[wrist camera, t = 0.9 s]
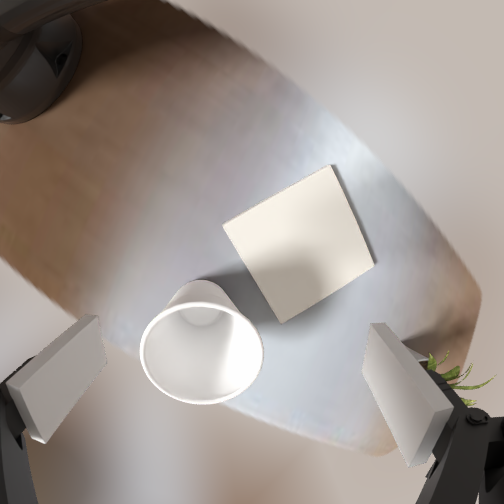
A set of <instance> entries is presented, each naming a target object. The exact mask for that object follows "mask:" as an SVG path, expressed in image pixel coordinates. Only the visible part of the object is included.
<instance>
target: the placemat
mask: <svg viewBox="0 0 504 504" xmlns="http://www.w3.org/2000/svg"><path fill="white" fill-rule="evenodd" d="M222 226H223V228H224V230H225V231H226V233H227V235H228V236H229V238H230V240H231V241H232V243H233V245H234V246H235V248H236V250H237V252H238V253H239V255H240V257H241V258H242V260H243V262H244V263H245V265H246V267H247V268H248V270H249V272H250V273H251V275H252V277H253V278H254V280H255V282H256V283H257V285H258V287H259V288H260V290H261V292H262V293H263V295H264V297H265V298H266V300H267V302H268V303H269V305H270V307H271V308H272V310H273V312H274V313H275V315H276V317H277V318H278V320H279V322H280V323H281V324H282V323H284V322H286V321H288V320H289V319H291V318H293V317H294V316H296V315H298V314H299V313H301V312H303V311H304V310H306V309H308V308H309V307H311V306H313V305H314V304H316V303H317V302H319V301H321V300H322V299H324V298H326V297H327V296H329V295H330V294H332V293H334V292H335V291H337V290H338V289H340V288H341V287H343V286H345V285H346V284H348V283H349V282H351V281H352V280H354V279H355V278H357V277H358V276H360V275H361V274H363V273H364V272H366V271H367V270H369V269H370V268H372V267H373V266H374V263H373V260H372V258H371V255H370V253H369V250H368V248H367V245H366V243H365V240H364V238H363V236H362V233H361V231H360V228H359V226H358V224H357V221H356V219H355V217H354V215H353V212H352V210H351V208H350V206H349V203H348V201H347V199H346V197H345V195H344V192H343V190H342V188H341V186H340V184H339V182H338V180H337V177H336V175H335V173H334V171H333V169H332V167H331V165H326V166H324V167H322V168H321V169H319V170H317V171H315V172H313V173H311V174H310V175H308V176H306V177H304V178H302V179H300V180H299V181H297V182H295V183H293V184H291V185H290V186H288V187H286V188H284V189H282V190H281V191H279V192H277V193H275V194H273V195H272V196H270V197H268V198H266V199H265V200H263V201H261V202H259V203H258V204H256V205H254V206H252V207H251V208H249V209H247V210H245V211H244V212H242V213H240V214H238V215H237V216H235V217H233V218H232V219H230V220H228V221H226V222H225V223H223V224H222Z"/></svg>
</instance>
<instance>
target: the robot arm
mask: <svg viewBox="0 0 504 504" xmlns="http://www.w3.org/2000/svg"><path fill="white" fill-rule="evenodd" d="M104 1H107V0H0V123H5V124H19V123H23V122H26V121H28V120H30V119H32V118H34V117H36V116H37V115H39V114H40V113H42V112H43V111H44V110H46V109H47V108H48V107H49V106H50V105H51V104H52V103H53V102H54V101H55V100H56V99H57V98H58V97H59V95H60V94H61V93H62V92H63V90H64V89H65V88H66V86H67V85H68V83H69V81H70V80H71V78H72V76H73V74H74V72H75V70H76V67H77V65H78V62H79V59H80V55H81V50H82V34H81V30H80V28H79V26H78V24H77V22H76V21H75V20H74V19H73V18H72V16H71V15H70V13H73V12H75V11H78V10H81V9H83V8H86V7H89V6H92V5H95V4H98V3H101V2H104ZM106 364H107V358H106V354H105V350H104V345H103V340H102V335H101V329H100V324H99V318H98V316H96V315H87V314H86V315H84V316H83V317H82V318H81V319H79V320H78V321H77V322H76V323H75V324H74V325H72V326H71V327H70V328H68V329H67V330H66V331H65V332H64V333H63V334H61V335H60V336H59V337H58V338H56V339H55V340H54V341H53V342H52V343H50V345H48V346H47V347H46V348H45V349H43V350H42V351H41V352H40V353H39V354H38V355H36V356H34V357H32V358H29V359H28V360H27V361H25V362H24V363H23V364H22V366H20V367H18V368H17V369H16V371H14V372H13V373H12V374H11V375H9V376H8V377H7V378H6V379H5V380H4V381H3V382H2V383H1V384H0V504H38V501H37V497H36V494H35V489H34V485H33V480H32V476H31V471H30V467H29V461H28V455H27V448H26V442H25V438H24V435H23V433H22V432H23V431H24V429H25V428H27V430H28V432H29V434H30V436H31V438H32V439H35V440H37V441H39V442H42V443H44V444H46V443H47V441H48V440H49V439H50V437H51V436H52V434H53V433H54V432H55V430H56V429H57V428H58V426H59V425H60V424H61V422H62V421H63V420H64V418H65V417H66V416H67V414H68V413H69V412H70V410H71V409H72V407H73V406H74V405H75V404H76V402H77V401H78V400H79V399H80V397H81V396H82V395H83V393H84V392H85V391H86V389H87V388H88V387H89V386H90V384H91V383H92V382H93V380H94V379H95V378H96V377H97V375H98V374H99V373H100V372H101V370H102V369H103V368H104V367H105V365H106ZM361 372H362V374H363V376H364V378H365V380H366V382H367V384H368V386H369V388H370V390H371V392H372V394H373V396H374V398H375V400H376V402H377V404H378V406H379V408H380V410H381V412H382V414H383V416H384V418H385V420H386V422H387V424H388V426H389V428H390V430H391V433H392V435H393V437H394V439H395V441H396V443H397V445H398V447H399V449H400V451H401V454H402V456H403V458H404V460H405V462H406V464H407V466H408V467H413V466H417V465H420V464H424V463H426V462H427V460H428V458H429V457H430V455H431V453H433V454H434V456H435V458H436V460H435V462H434V464H433V465H432V467H431V468H430V470H429V472H428V474H427V475H426V477H427V480H426V482H425V484H424V487H423V489H422V491H421V493H420V495H419V498H418V500H417V502H416V504H475V503H476V500H477V496H478V492H479V504H504V417H493V418H490V416H489V415H488V413H486V412H485V411H483V410H481V409H479V408H472V407H471V408H468V407H467V406H466V405H465V403H464V402H463V401H462V400H461V398H460V397H459V396H458V395H457V394H456V392H455V391H454V390H453V389H451V387H450V385H449V384H447V382H446V381H445V379H444V378H443V377H442V376H441V375H440V374H438V373H437V372H435V371H433V370H432V369H429V370H424V369H423V367H422V366H421V365H420V364H419V362H418V361H417V360H416V359H415V358H414V356H413V355H412V354H411V353H410V352H409V350H408V349H407V348H406V347H405V346H404V344H403V343H402V342H401V341H400V340H399V339H398V337H397V336H396V335H395V334H394V333H393V332H392V330H391V329H390V328H389V327H388V326H387V325H386V323H370V329H369V335H368V341H367V346H366V352H365V357H364V362H363V367H362V371H361Z"/></svg>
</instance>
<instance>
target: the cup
mask: <svg viewBox="0 0 504 504" xmlns="http://www.w3.org/2000/svg"><path fill="white" fill-rule="evenodd" d="M140 358H141V363H142V366H143V368H144V371H145V373H146V375H147V376H148V377H149V379H150V380H151V382H152V383H153V384H154V385H155V386H156V387H157V388H158V389H160V390H161V391H162V392H164V393H165V394H167V395H168V396H170V397H172V398H175V399H177V400H179V401H183V402H187V403H191V404H215V403H219V402H224V401H226V400H229V399H232V398H234V397H236V396H237V395H239V394H241V393H242V392H244V391H245V390H246V389H247V388H248V387H249V386H251V384H252V383H253V382H254V381H255V379H256V378H257V376H258V374H259V372H260V370H261V368H262V364H263V359H264V347H263V343H262V339H261V337H260V335H259V333H258V331H257V329H256V327H255V326H254V325H253V324H252V323H251V321H250V320H249V319H248V318H246V317H245V316H244V315H243V314H241V313H240V311H239V310H238V309H237V308H236V306H235V305H234V304H233V302H232V301H231V300H230V298H229V297H228V296H227V294H226V293H225V292H224V291H223V289H222V288H221V287H219V286H218V285H217V284H215V283H213V282H210V281H207V280H195V281H191V282H189V283H186V284H185V285H183V286H182V287H181V288H180V289H179V290H178V291H177V292H176V294H175V295H174V297H173V298H172V299H171V300H170V302H169V303H168V304H167V306H166V307H165V308H164V310H163V311H162V312H161V313H160V314H159V315H157V316H156V317H155V318H154V319H153V320H152V321H151V322H150V324H149V325H148V326H147V328H146V330H145V332H144V333H143V336H142V340H141V344H140Z"/></svg>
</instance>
